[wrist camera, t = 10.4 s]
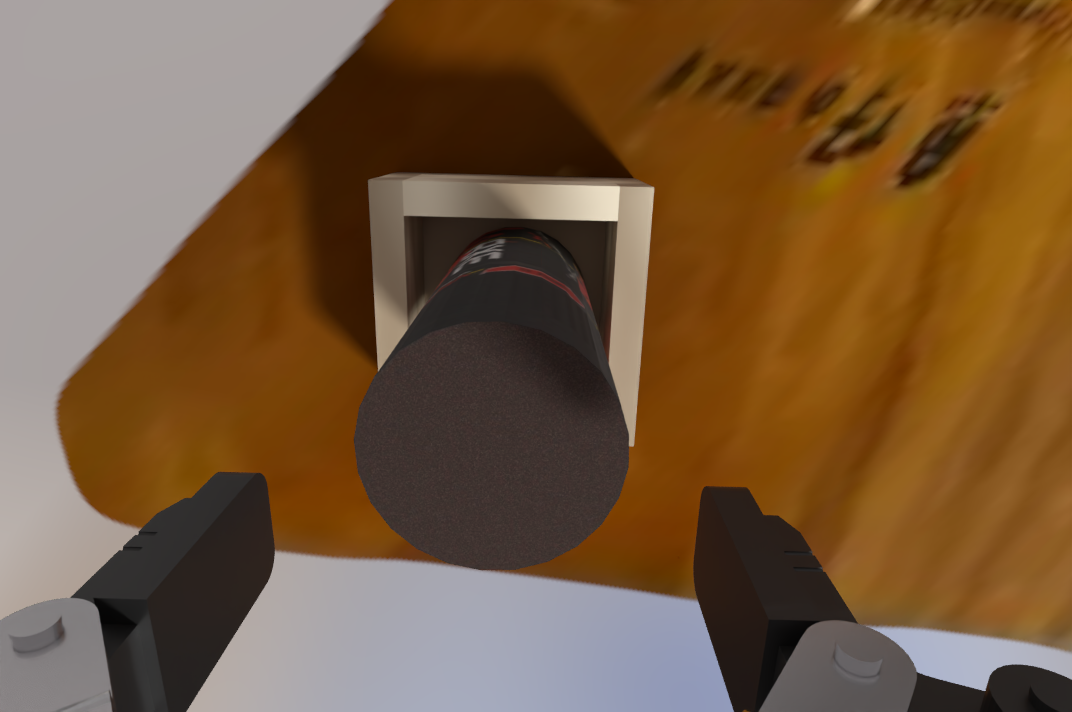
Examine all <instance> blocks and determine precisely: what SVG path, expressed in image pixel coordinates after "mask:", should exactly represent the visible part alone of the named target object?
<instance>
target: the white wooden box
mask: <svg viewBox="0 0 1072 712" xmlns="http://www.w3.org/2000/svg"><path fill="white" fill-rule="evenodd" d="M368 190H369V209H370V228H371V247H372V266H373V285H374V303H375V322H376V341H377V360H378V371H379V370H380V368H381V367H382V365H383V364H384V363H385V361H386V360H387V358H388V357H389V355H390V354H391V352H392V351H393V350H394V348H395V347H396V345H397V344H398V342H399V341H400V340H401V338H402V337H403V335H404V334H405V332H406V331H407V329H408V328H409V327H410V325H411V324H412V322H413V321H414V319H415V318H416V317H417V315H418V314H419V312H420V311H421V309H422V308H423V306H424V305H425V304H426V302H427V301H428V299H429V298H430V296H431V295H432V294H433V292H434V291H435V289H436V288H437V286H438V285H439V283H440V282H441V281H442V279H443V278H444V276H445V275H446V273H447V272H448V271H449V269H450V268H451V266H452V265H453V263H454V262H455V260H456V259H457V258H458V256H459V255H460V254H461V253H462V252H463V251H464V249H465V248H466V247H467V246H468V245H469V244H470V243H471V242H472V241H474V240H476V239H477V238H479V237H480V236H482V235H484V234H485V233H487V232H490V231H494V230H497V229H500V228H504V227H525V228H530V229H534V230H538V231H542V232H543V233H545V234H547V235H549V236H551V237H552V238H554V239H556V240H558V241H559V242H560V243H561V244H562V245H563V246H564V247H565V248H566V249H567V250H568V251H569V252H570V253H571V254H572V256H573V258H574V259H575V261H576V263H577V264H578V266H579V268H580V270H581V274H582V277H583V280H584V284H585V287H586V290H587V294H588V297H589V300H590V304H591V307H592V310H593V314H594V317H595V320H596V323H597V327H598V330H599V333H600V337H601V340H602V343H603V347H604V350H605V353H606V357H607V360H608V363H609V367H610V370H611V373H612V377H613V380H614V383H615V387H616V390H617V393H618V396H619V400H620V403H621V407H622V410H623V414H624V418H625V421H626V425H627V428H628V432H629V446H634V437H635V424H636V412H637V399H638V386H639V374H640V361H641V348H642V336H643V323H644V310H645V298H646V285H647V272H648V260H649V247H650V234H651V222H652V209H653V196H654V187H652V186H650V185H648V184H646V183H644V182H641V181H639V180H637V179H635V178H601V177H563V176H525V175H486V174H448V173H409V172H395V173H392V174H388V175H384V176H381V177H377V178H373V179H369V180H368Z"/></svg>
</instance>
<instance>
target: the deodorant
mask: <svg viewBox="0 0 1072 712" xmlns="http://www.w3.org/2000/svg"><path fill="white" fill-rule="evenodd" d="M354 444H355V452H356V460H357V468H358V473H359V476H360V478H361V480H362V483H363V485H364V487H365V490H366V492H367V495H368V497H369V499H370V502H371V503H372V505H373V506H374V507H375V508H376V510H377V511H378V512H379V514H380V515H381V516H382V517H383V519H384V520H385V521H386V523H387V524H388V525H389V526H390V528H391V529H392V530H394V531H395V532H396V533H398V534H399V535H400V536H401V537H403V538H404V539H405V540H406V541H408V542H409V543H410V544H412V545H413V546H414V547H415V548H417V549H418V550H421V551H423V552H425V553H427V554H429V555H432V556H434V557H436V558H438V559H440V560H442V561H445V562H447V563H450V564H455V565H459V566H464V567H469V568H473V569H478V570H516V569H520V568H524V567H528V566H532V565H536V564H540V563H544V562H548V561H550V560H552V559H554V558H555V557H557V556H559V555H561V554H563V553H565V552H567V551H569V550H571V549H573V548H575V547H577V546H578V545H579V544H580V543H581V542H582V541H584V540H585V539H586V538H587V537H588V536H589V535H590V534H591V533H593V532H594V531H595V530H596V529H597V528H598V527H599V526H600V525H601V524H602V523H603V521H604V520H605V518H606V517H607V515H608V514H609V512H610V511H611V509H612V508H613V506H614V505H615V503H616V502H617V500H618V499H619V496H620V493H621V490H622V487H623V483H624V480H625V477H626V474H627V470H628V463H629V432H628V428H627V425H626V421H625V418H624V414H623V410H622V407H621V403H620V400H619V396H618V393H617V390H616V387H615V383H614V380H613V377H612V373H611V370H610V367H609V363H608V360H607V357H606V353H605V350H604V347H603V343H602V340H601V337H600V333H599V330H598V327H597V323H596V320H595V317H594V314H593V310H592V307H591V304H590V300H589V297H588V294H587V290H586V287H585V284H584V280H583V277H582V274H581V270H580V268H579V266H578V264H577V263H576V261H575V259H574V258H573V256H572V254H571V253H570V252H569V251H568V250H567V249H566V248H565V247H564V246H563V245H562V244H561V243H560V242H559V241H558V240H556V239H554V238H552V237H551V236H549V235H547V234H545V233H543V232H542V231H538V230H534V229H530V228H525V227H504V228H500V229H497V230H494V231H490V232H487V233H485V234H484V235H482V236H480V237H479V238H477V239H476V240H474V241H472V242H471V243H470V244H469V245H468V246H467V247H466V248H465V249H464V251H463V252H462V253H461V254H460V255H459V256H458V258H457V259H456V260H455V262H454V263H453V265H452V266H451V268H450V269H449V271H448V272H447V273H446V275H445V276H444V278H443V279H442V281H441V282H440V283H439V285H438V286H437V288H436V289H435V291H434V292H433V294H432V295H431V296H430V298H429V299H428V301H427V302H426V304H425V305H424V306H423V308H422V309H421V311H420V312H419V314H418V315H417V317H416V318H415V319H414V321H413V322H412V324H411V325H410V327H409V328H408V329H407V331H406V332H405V334H404V335H403V337H402V338H401V340H400V341H399V342H398V344H397V345H396V347H395V348H394V350H393V351H392V352H391V354H390V355H389V357H388V358H387V360H386V361H385V363H384V364H383V365H382V367H381V368H380V370H379V371H378V373H377V374H376V375H375V377H374V379H373V381H372V383H371V385H370V387H369V389H368V391H367V393H366V395H365V397H364V399H363V401H362V403H361V405H360V407H359V413H358V419H357V425H356V431H355V437H354Z"/></svg>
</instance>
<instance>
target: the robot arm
mask: <svg viewBox="0 0 1072 712" xmlns="http://www.w3.org/2000/svg"><path fill="white" fill-rule="evenodd" d="M274 554H275V547H274V538H273V530H272V521H271V513H270V504H269V496H268V488H267V482H266V479H265V477H264V476H263V475H262V474H261V473H239V472H218V473H216V474H215V475H214V476H213V477H212V478H211V479H210V480H209V481H208V482H207V483H206V484H205V485H204V486H203V487H202V488H201V489H200V490H199V491H198V492H197V493H196V494H195V495H194V496H193V497H192V498H184V499H183V500H181V501H179V502H177V503H175V504H174V505H172V506H170V507H168V508H166V509H165V510H163V511H161V512H159V513H157V514H156V515H155V516H154V517H153V518H152V519H151V520H150V521H149V522H148V523H147V524H146V525H145V526H144V527H143V528H142V529H141V530H140V531H139V534H138V535H135V536H134V537H133V538H132V539H131V540H129V541H128V542H127V543H126V544H125V545H124V546H123V550H122V551H121V550H119V551H118V552H117V553H116V554H115V555H114V556H113V557H112V558H111V559H110V560H109V561H108V562H107V563H106V564H105V565H104V566H103V567H102V568H101V569H99V570H98V571H97V572H96V574H94V575H93V576H92V577H91V578H90V579H89V580H88V581H87V582H86V583H85V584H84V585H83V586H82V587H81V588H80V589H79V590H78V591H77V592H76V593H75V594H74V595H73V596H72V597H71V598H62V599H54V600H49V601H45V602H41V603H38V604H34V605H31V606H29V607H26V608H24V609H21V610H19V611H16V612H14V613H12V614H11V615H9V616H7V617H5V618H3V619H2V620H0V712H186V711H187V710H188V708H189V706H190V705H191V703H192V702H193V700H194V698H195V697H196V695H197V694H198V692H199V690H200V689H201V687H202V686H203V684H204V683H205V681H206V679H207V678H208V676H209V675H210V673H211V671H212V670H213V668H214V667H215V665H216V663H217V662H218V660H219V659H220V657H221V655H222V654H223V652H224V651H225V649H226V647H227V646H228V644H229V643H230V641H231V639H232V638H233V636H234V635H235V633H236V632H237V630H238V628H239V626H240V625H241V624H242V622H243V620H244V619H245V617H246V616H247V614H248V612H249V611H250V609H251V608H252V606H253V604H254V603H255V601H256V600H257V598H258V596H259V595H260V593H261V592H262V590H263V589H264V587H265V585H266V584H267V582H268V580H269V578H270V575H271V572H272V568H273V563H274ZM694 584H695V591H696V595H697V599H698V602H699V605H700V608H701V611H702V614H703V617H704V620H705V623H706V627H707V630H708V633H709V636H710V639H711V642H712V645H713V648H714V651H715V654H716V657H717V660H718V664H719V667H720V670H721V673H722V676H723V679H724V682H725V685H726V688H727V691H728V694H729V698H730V701H731V704H732V706H733V710H734V712H1072V680H1071V679H1069V678H1067V677H1065V676H1062V675H1060V674H1057V673H1055V672H1052V671H1049V670H1045V669H1042V668H1038V667H1034V666H1028V665H1006V666H1002V667H1000V668H997V669H996V670H995V671H993V672H992V674H991V675H990V677H989V681H988V684H987V688H986V691H982V690H978V689H974V688H970V687H966V686H962V685H959V684H955V683H950V682H947V681H943V680H939V679H935V678H932V677H929V676H925V675H923V674H920V673H918V672H916V668H915V666H914V663H913V662H912V660H911V659H910V657H909V656H908V654H906V652H905V651H904V650H903V649H902V648H901V647H900V646H899V645H898V644H896V643H895V642H894V641H892V640H891V639H890V638H888V637H886V636H885V635H883V634H881V633H880V632H878V631H875V630H873V629H871V628H869V627H866V626H863V625H860V624H858V623H857V621H856V620H855V618H854V617H853V615H852V613H851V612H850V610H849V609H848V607H847V606H846V604H845V602H844V601H843V599H842V598H841V596H840V595H839V593H838V591H837V590H836V588H835V587H834V585H833V584H832V582H831V580H830V579H829V577H828V576H827V574H826V573H825V572H823V570H822V566H821V565H820V563H819V562H818V560H817V558H816V557H815V556H813V555H812V551H811V549H810V547H809V546H808V544H807V543H806V541H805V540H804V538H803V536H802V535H801V533H800V532H799V531H797V530H796V529H795V528H793V527H792V526H791V525H789V524H788V523H787V522H785V521H784V520H783V519H782V518H780V517H779V516H771V515H763V514H762V512H761V510H760V508H759V507H758V505H757V503H756V501H755V500H754V498H753V496H752V494H751V493H750V491H749V490H748V488H746V487H714V486H706V487H704V489H703V491H702V494H701V500H700V509H699V518H698V527H697V536H696V545H695V554H694Z"/></svg>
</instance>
